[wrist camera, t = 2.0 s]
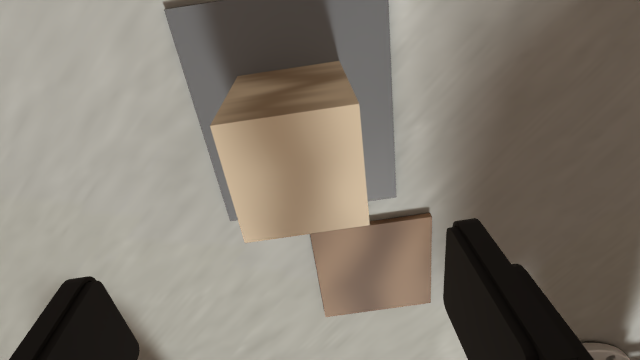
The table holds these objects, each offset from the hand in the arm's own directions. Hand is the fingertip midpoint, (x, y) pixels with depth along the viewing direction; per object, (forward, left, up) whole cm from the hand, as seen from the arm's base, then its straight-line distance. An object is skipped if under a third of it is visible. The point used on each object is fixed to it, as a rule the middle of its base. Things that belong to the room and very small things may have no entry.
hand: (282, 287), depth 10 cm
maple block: (0, 0, -15) cm, 15 cm away
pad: (-4, +14, -15) cm, 21 cm away
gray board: (0, 0, -15) cm, 15 cm away
